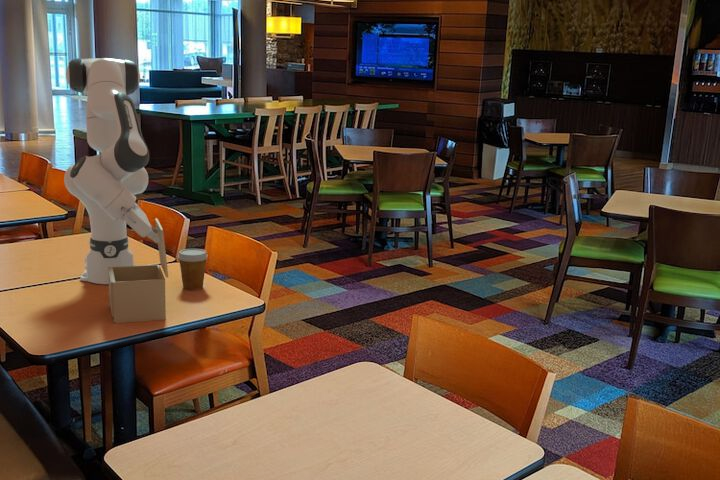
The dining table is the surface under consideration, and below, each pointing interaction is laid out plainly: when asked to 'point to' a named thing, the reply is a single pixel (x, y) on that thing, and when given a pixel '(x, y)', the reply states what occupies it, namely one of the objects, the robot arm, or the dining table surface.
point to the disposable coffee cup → (192, 267)
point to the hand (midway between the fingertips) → (157, 237)
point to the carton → (137, 293)
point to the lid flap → (162, 248)
